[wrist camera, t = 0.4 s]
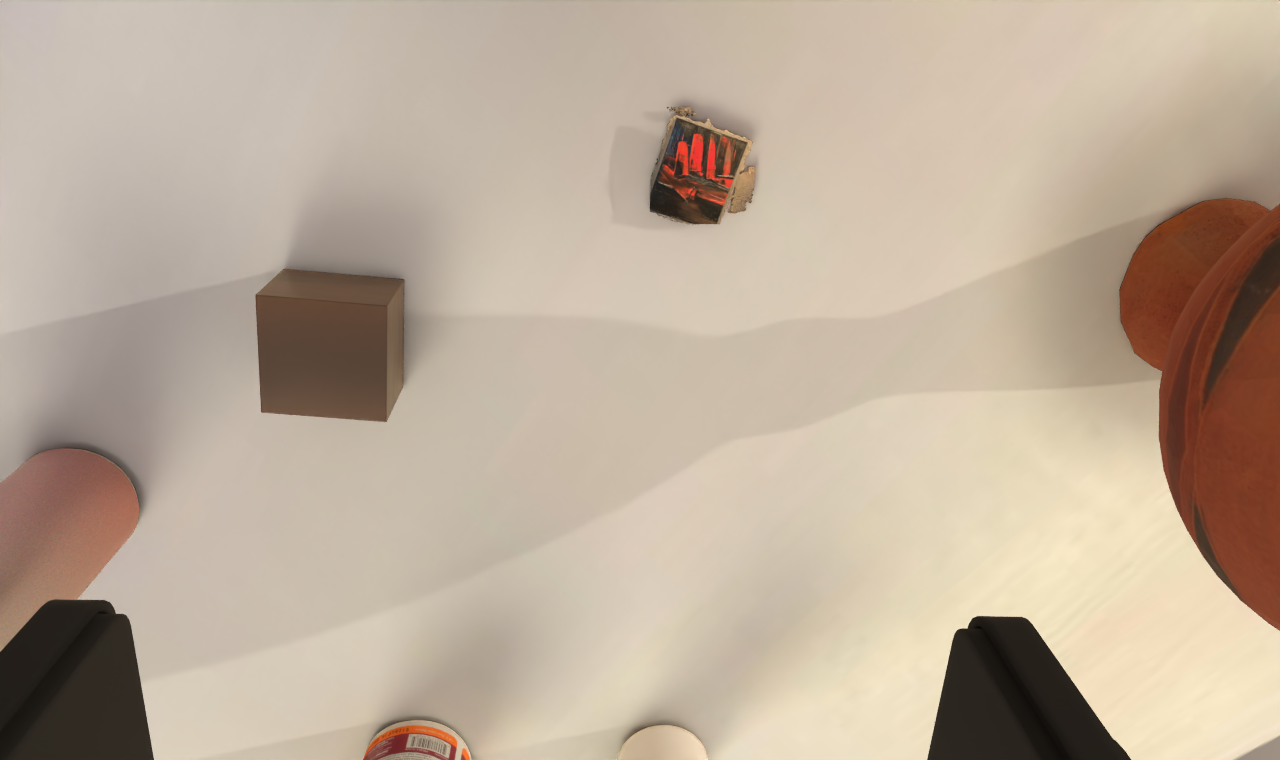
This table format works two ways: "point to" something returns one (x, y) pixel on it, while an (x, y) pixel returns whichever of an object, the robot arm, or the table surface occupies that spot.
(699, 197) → the painted wall fragment
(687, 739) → the drinking glass
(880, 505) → the table surface
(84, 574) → the beverage can
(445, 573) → the table surface
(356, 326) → the walnut block
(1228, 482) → the goblet
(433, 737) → the pill bottle
